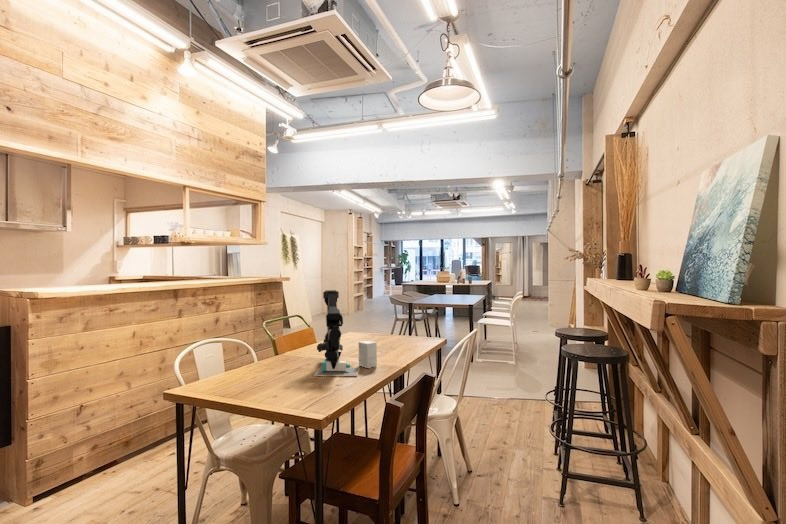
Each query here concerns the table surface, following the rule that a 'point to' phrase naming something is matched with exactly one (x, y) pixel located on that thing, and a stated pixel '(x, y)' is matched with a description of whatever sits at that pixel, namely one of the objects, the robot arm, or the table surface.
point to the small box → (367, 354)
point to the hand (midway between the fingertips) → (334, 367)
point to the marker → (339, 366)
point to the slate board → (338, 372)
